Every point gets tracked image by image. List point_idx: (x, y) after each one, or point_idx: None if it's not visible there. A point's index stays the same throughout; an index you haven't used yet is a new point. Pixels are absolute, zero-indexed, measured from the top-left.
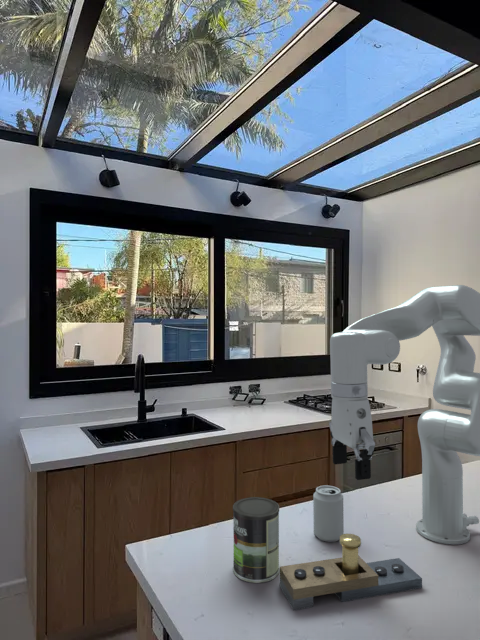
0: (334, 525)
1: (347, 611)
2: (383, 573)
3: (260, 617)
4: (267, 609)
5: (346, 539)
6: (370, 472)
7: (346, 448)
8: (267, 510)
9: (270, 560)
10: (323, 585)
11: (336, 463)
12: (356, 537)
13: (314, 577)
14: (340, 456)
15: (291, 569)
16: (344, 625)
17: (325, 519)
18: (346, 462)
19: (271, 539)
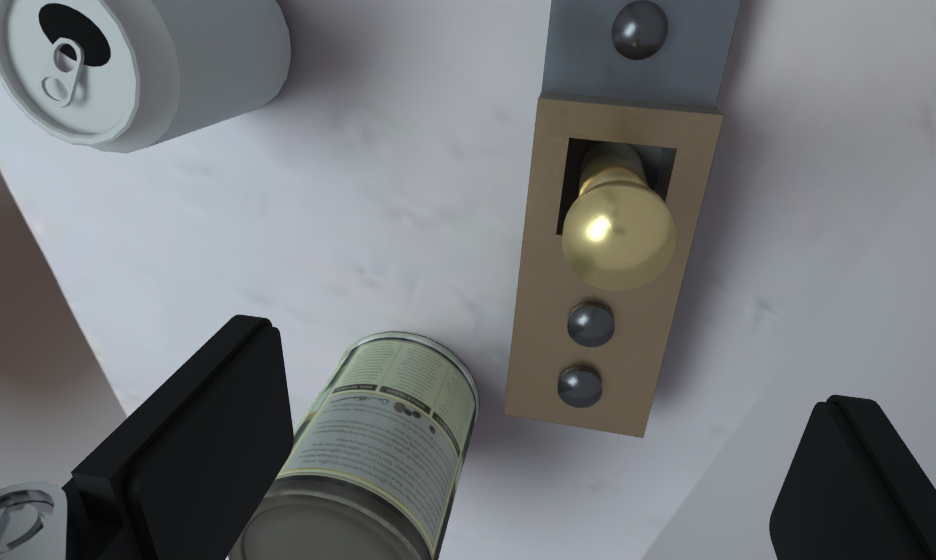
0: (257, 54)
1: (723, 259)
2: (666, 34)
3: (624, 473)
4: (601, 447)
5: (618, 263)
6: (903, 447)
7: (163, 453)
8: (373, 552)
9: (462, 425)
10: (665, 344)
11: (290, 437)
12: (623, 204)
13: (613, 351)
14: (246, 452)
15: (534, 390)
16: (776, 305)
17: (232, 103)
18: (278, 330)
19: (445, 475)
